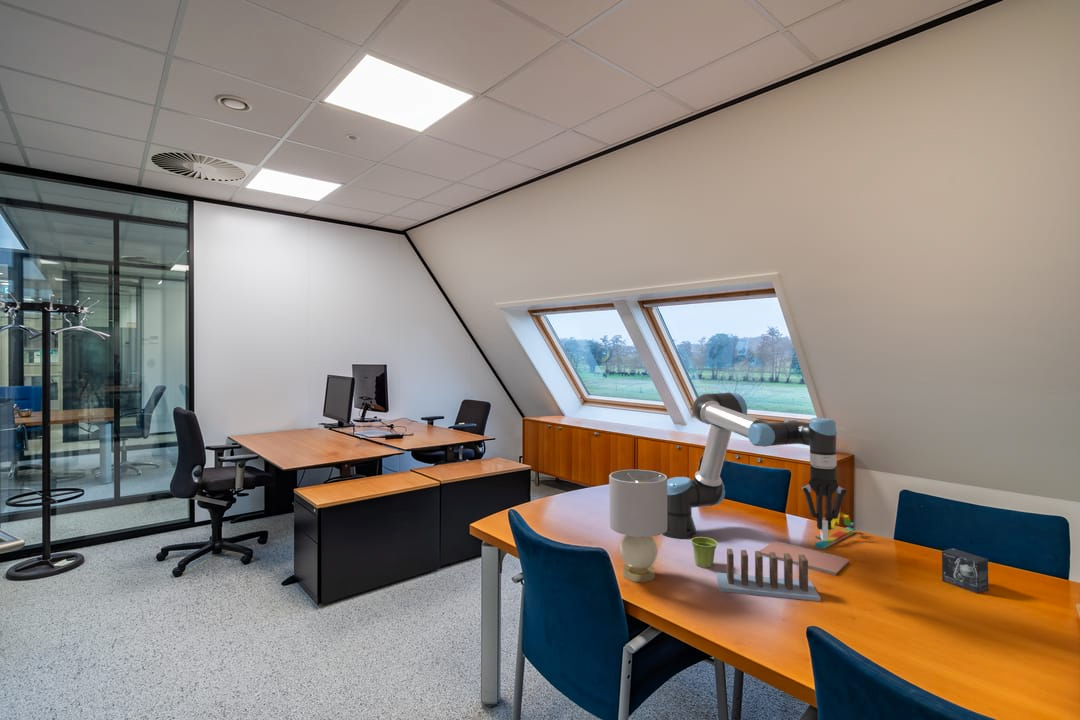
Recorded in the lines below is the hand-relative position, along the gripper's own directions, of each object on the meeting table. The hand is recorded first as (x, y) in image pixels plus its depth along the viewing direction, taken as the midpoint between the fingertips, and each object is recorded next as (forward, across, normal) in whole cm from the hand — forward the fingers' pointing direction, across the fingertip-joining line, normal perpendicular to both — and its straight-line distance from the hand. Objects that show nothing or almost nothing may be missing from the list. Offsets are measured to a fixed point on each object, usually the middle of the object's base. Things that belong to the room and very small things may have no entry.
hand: (824, 539), depth 164 cm
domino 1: (+16, -29, 0) cm, 33 cm away
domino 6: (+17, -6, 0) cm, 18 cm away
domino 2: (+16, -24, 0) cm, 29 cm away
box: (+18, +47, +17) cm, 53 cm away
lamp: (+18, -59, 0) cm, 62 cm away
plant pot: (+18, -36, +15) cm, 43 cm away
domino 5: (+17, -11, 0) cm, 20 cm away
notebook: (+18, +1, +30) cm, 35 cm away
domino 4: (+16, -15, 0) cm, 22 cm away
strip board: (+18, -18, 0) cm, 25 cm away
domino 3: (+16, -20, 0) cm, 26 cm away
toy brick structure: (+18, +19, +54) cm, 60 cm away
